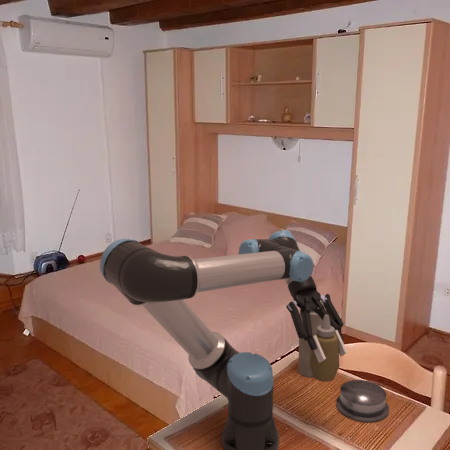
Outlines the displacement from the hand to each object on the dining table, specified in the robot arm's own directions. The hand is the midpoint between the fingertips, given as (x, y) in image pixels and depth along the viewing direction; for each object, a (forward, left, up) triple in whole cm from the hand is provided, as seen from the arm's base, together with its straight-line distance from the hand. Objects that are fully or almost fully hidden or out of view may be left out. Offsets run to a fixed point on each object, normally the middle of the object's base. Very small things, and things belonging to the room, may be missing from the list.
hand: (333, 357), depth 129 cm
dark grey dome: (+11, +12, -22) cm, 28 cm away
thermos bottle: (-2, +32, -23) cm, 39 cm away
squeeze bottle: (-2, +3, -8) cm, 8 cm away
